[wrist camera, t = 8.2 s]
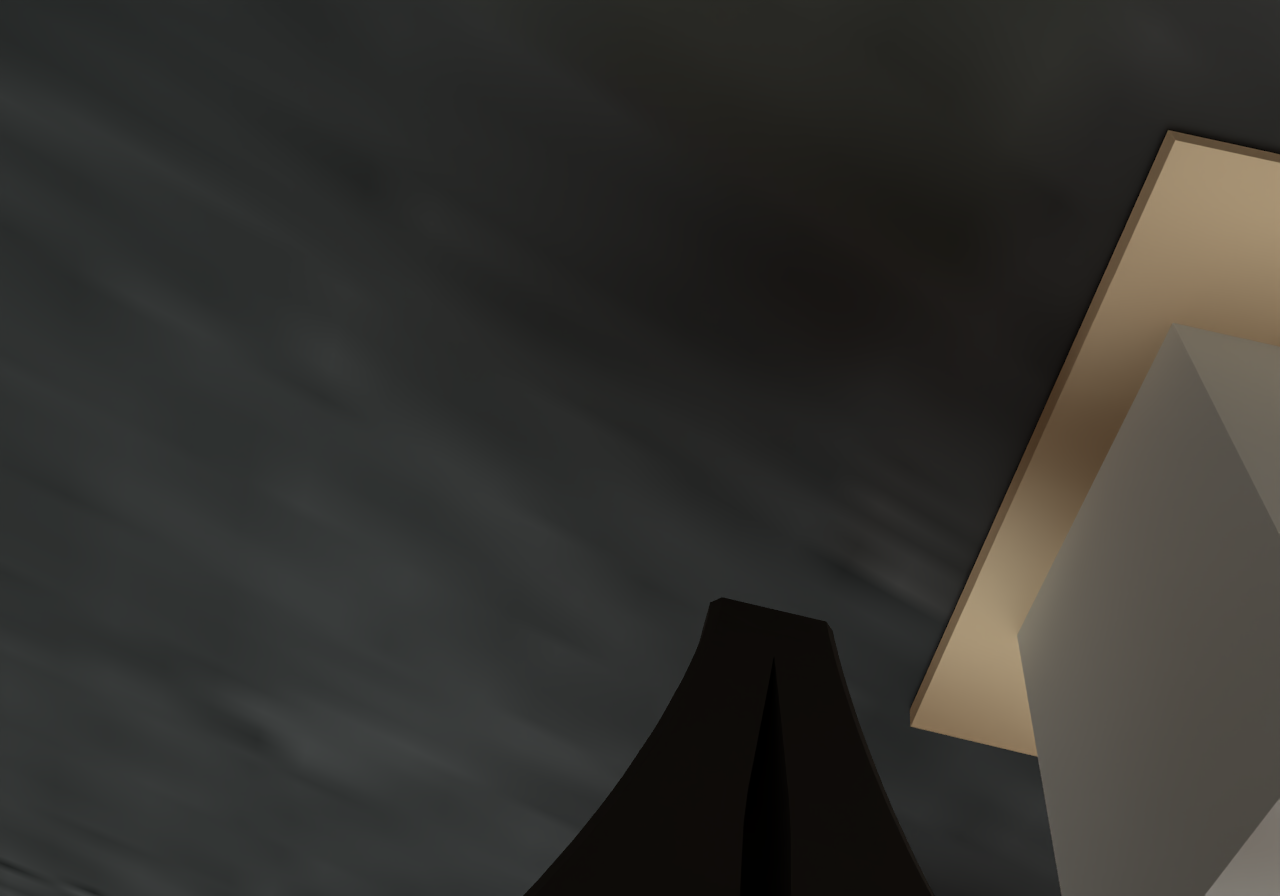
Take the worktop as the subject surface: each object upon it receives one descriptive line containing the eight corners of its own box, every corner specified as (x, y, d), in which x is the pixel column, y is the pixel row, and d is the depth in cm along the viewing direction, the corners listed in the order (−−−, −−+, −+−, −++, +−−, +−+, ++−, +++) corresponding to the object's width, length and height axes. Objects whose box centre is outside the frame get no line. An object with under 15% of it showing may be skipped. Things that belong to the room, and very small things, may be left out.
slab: (1195, 677, 19) (1344, 1110, 13) (1017, 635, 19) (1087, 1047, 13) (1391, 371, 15) (1711, 777, 10) (1172, 322, 16) (1359, 694, 10)
